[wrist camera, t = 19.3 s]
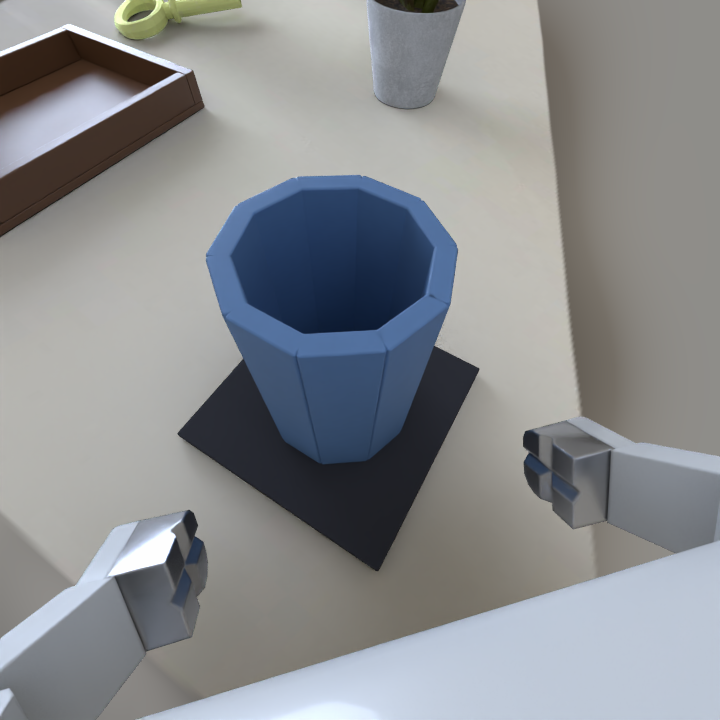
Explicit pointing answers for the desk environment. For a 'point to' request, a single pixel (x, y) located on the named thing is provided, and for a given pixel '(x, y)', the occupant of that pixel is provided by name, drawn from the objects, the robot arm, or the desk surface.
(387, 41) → the house plant
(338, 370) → the blue faceted tube
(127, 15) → the key
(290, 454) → the mat
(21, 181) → the tray
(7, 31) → the desk surface
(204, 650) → the desk surface
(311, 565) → the desk surface
